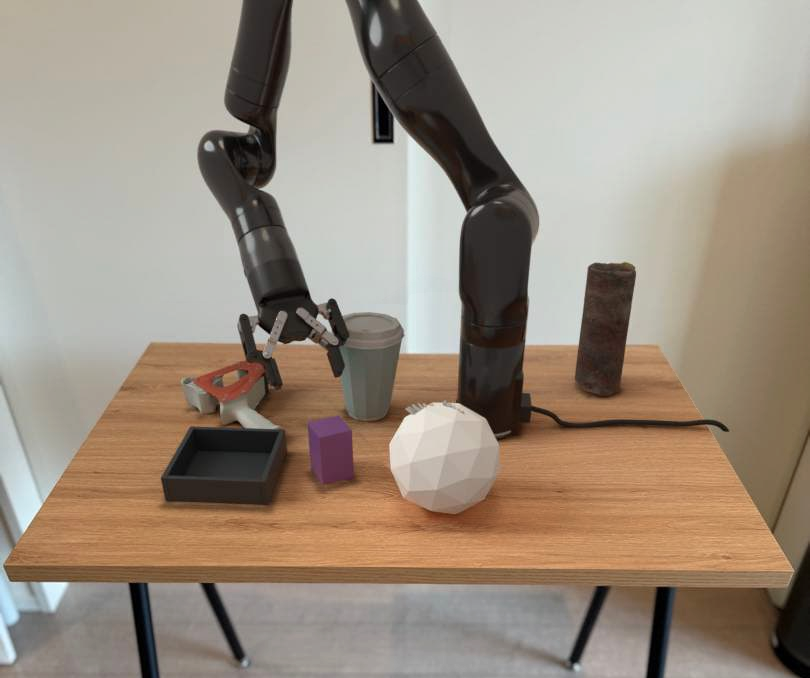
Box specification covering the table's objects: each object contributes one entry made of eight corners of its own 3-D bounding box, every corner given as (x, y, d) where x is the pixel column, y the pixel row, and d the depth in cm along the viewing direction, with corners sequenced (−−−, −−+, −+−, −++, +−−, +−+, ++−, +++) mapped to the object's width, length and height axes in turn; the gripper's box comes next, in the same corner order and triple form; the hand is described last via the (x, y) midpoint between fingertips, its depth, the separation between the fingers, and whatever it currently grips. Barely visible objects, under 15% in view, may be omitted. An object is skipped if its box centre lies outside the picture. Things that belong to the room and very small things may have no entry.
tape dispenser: (279, 461, 115) (306, 390, 130) (277, 430, 111) (305, 361, 126) (159, 450, 116) (200, 381, 131) (153, 419, 112) (195, 351, 127)
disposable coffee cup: (338, 395, 128) (333, 304, 119) (405, 396, 128) (406, 305, 119) (331, 428, 120) (325, 332, 111) (403, 429, 120) (403, 334, 110)
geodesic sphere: (347, 485, 96) (419, 407, 88) (371, 428, 108) (437, 353, 100) (442, 555, 100) (520, 486, 92) (456, 493, 112) (526, 426, 103)
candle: (565, 390, 130) (582, 267, 118) (580, 373, 135) (597, 253, 123) (611, 401, 127) (633, 275, 115) (625, 383, 132) (647, 261, 120)
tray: (287, 455, 113) (285, 429, 111) (268, 510, 103) (265, 481, 100) (195, 452, 114) (190, 426, 112) (166, 505, 103) (160, 478, 101)
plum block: (311, 473, 110) (307, 422, 105) (341, 466, 111) (338, 414, 106) (323, 489, 106) (319, 437, 102) (354, 481, 108) (352, 429, 103)
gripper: (224, 264, 102) (262, 382, 101) (328, 248, 107) (365, 360, 106) (219, 291, 109) (254, 402, 108) (316, 276, 114) (351, 381, 113)
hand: (309, 381), depth 107 cm, fingers open, 8 cm apart
